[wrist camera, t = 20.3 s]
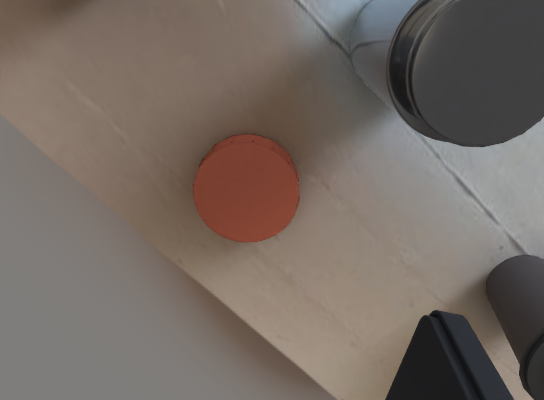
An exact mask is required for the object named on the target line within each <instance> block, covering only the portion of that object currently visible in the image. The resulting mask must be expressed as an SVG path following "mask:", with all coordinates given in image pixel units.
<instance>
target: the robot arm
mask: <svg viewBox="0 0 544 400" xmlns="http://www.w3.org/2000/svg"><path fill="white" fill-rule="evenodd" d="M385 400H514V399H513V397H512V395H511V394H510V392H509V390H508V389H507V387H506V385H505V384H504V382H503V380H502V379H501V377H500V375H499V373H498V372H497V370H496V368H495V367H494V365H493V363H492V362H491V360H490V358H489V357H488V355H487V353H486V351H485V350H484V348H483V346H482V345H481V343H480V341H479V340H478V338H477V336H476V334H475V333H474V331H473V329H472V328H471V326H470V324H469V323H468V321H467V319H466V318H465V317H464V316H462V315H458V314H453V313H448V312H443V311H438V310H435V311H432V312H431V313H430V315H429V316H427V315H425V316H423V317H422V318H421V319H420V321H419V323H418V325H417V328H416V330H415V332H414V335H413V337H412V339H411V342H410V344H409V346H408V348H407V351H406V353H405V355H404V358H403V360H402V362H401V365H400V367H399V369H398V372H397V374H396V376H395V378H394V381H393V383H392V385H391V388H390V390H389V392H388V395H387V397H386V399H385Z"/></svg>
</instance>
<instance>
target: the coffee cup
mask: <svg viewBox="0 0 544 400" xmlns="http://www.w3.org/2000/svg"><path fill="white" fill-rule="evenodd" d="M486 294H487V297H488V300H489V302H490V304H491V306H492V308H493V310H494V312H495V314H496V317H497V319H498V321H499V323H500V325H501V327H502V329H503V331H504V333H505V335H506V337H507V339H508V341H509V343H510V346H511V348H512V350H513V352H514V354H515V356H516V358H517V360H518V362H519V364H520V369H519V376H520V379H521V382H522V385H523V388H524V389H525V390H526V391H527V392H528V394H529V395H530V396H531V397H532V398H533V399H534V400H544V260H542V259H540V258H539V257H535V256H530V255H524V256H516V257H513V258H510V259H507V260H505V261H504V262H502V263H501V264H499V265H498V266H497V267H496V268H495V269H494V270H493V271H492V272H491V274H490V275H489V278H488V280H487V282H486Z"/></svg>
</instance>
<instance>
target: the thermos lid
mask: <svg viewBox="0 0 544 400" xmlns="http://www.w3.org/2000/svg"><path fill="white" fill-rule="evenodd" d="M199 167H200V168H199V170H198V172H197V174H196V177H195V180H194V184H193V198H194V203H195V206H196V209H197V211H198V213H199V215H200V217H201V218H202V220H203V221H204V222H205V223H206V225H207V226H208V227H209V228H211V229H212V230H213V231H214V232H216V233H217V234H219V235H221V236H223V237H225V238H227V239H230V240H234V241H239V242H257V241H262V240H265V239H268V238H270V237H272V236H274V235H276V234H277V233H279V232H280V231H282V230H283V229H284V228H285V227H286V226H287V225H288V224H289V223H290V221H291V220H292V218H293V216H294V214H295V212H296V210H297V207H298V202H299V184H298V181H299V177H298V171H296V167H295V165H294V163H293V161H292V159H291V157H290V154H288V153H287V152H286V151H285V150H284V149H283V148H282V147H281V146H279V145H278V144H277V143H275V141H272V140H269V139H267V138H265V137H261V136H257V135H255V134H254V135H237V136H235V135H233V137H230V138H227V139H225V140H223V141H221V142H220V143H218V144H215V146H214V147H213V148H212V149H211V150H210V151H209V153H208V154H207V155H206V157H205V159H204V158H203V160H202V161H201V163H200V165H199Z"/></svg>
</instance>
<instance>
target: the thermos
mask: <svg viewBox="0 0 544 400" xmlns="http://www.w3.org/2000/svg"><path fill="white" fill-rule="evenodd" d="M349 51H350V58H351V62H352V65H353V68H354V70H355V72H356V74H357V75H358V77H359V78H360V79H361V80H362V81H363V82H364V83H365V84H366V85H367V86H368V87H369V88H370V89H371V90H372V91H373V92H374V93H375V94H376V95H377V96H378V97H379V98H380V99H381V100H383V101H384V102H385V103H386V104H387V105H388V106H389V107H390V108H391V109H392V110H393V111H394V112H395V113H396V114H397V115H398V116H400V117H401V118H402V119H403V120H404V121H405V122H406V123H407V124H408V125H409V126H410V127H412V128H413V129H414V130H416V131H417V132H419V133H421V134H422V135H424V136H426V137H429V138H432V139H435V140H439V141H443V142H450V143H453V144H457V145H460V146H466V147H486V146H490V145H495V144H499V143H504V142H506V141H508V140H510V139H512V138H514V137H517V136H519V135H521V134H523V133H525V132H526V131H527V130H528V129H530V128H531V127H532V126H534V125H535V124H536V123H537V122H539V121H541V119H542V118H543V117H544V0H371V1H370V2H369V3H368V4H367V5H366V6H365V7H364V8H363V9H362V11H361V12H360V13H359V15H358V17H357V19H356V20H355V23H354V25H353V27H352V31H351V35H350V41H349Z"/></svg>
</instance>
